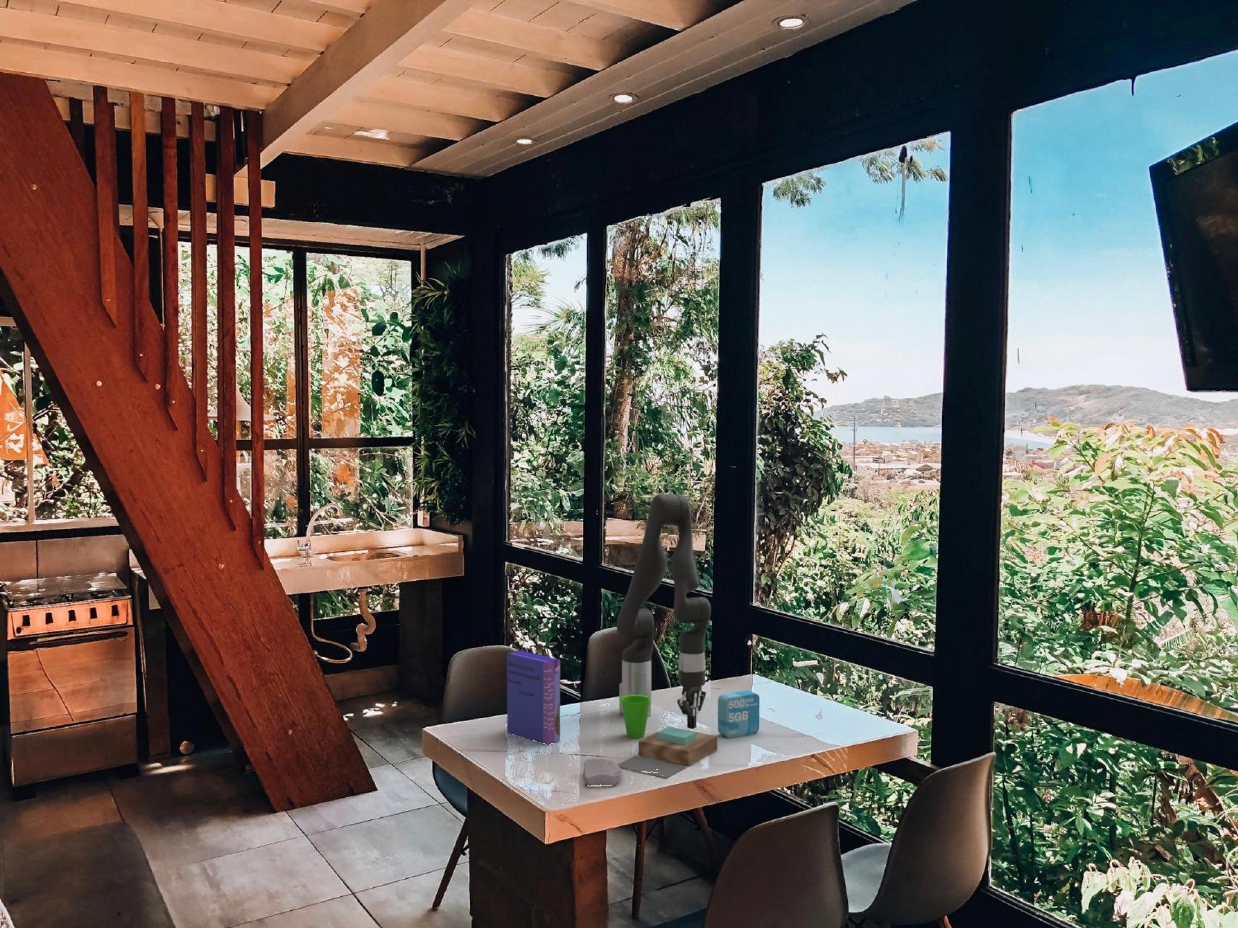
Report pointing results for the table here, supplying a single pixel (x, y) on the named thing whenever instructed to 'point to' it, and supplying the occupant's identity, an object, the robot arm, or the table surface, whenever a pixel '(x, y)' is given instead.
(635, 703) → the cup
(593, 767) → the stone block
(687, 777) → the table surface
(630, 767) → the mat
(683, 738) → the teal flat block
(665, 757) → the wooden block
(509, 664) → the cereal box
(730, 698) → the data package
